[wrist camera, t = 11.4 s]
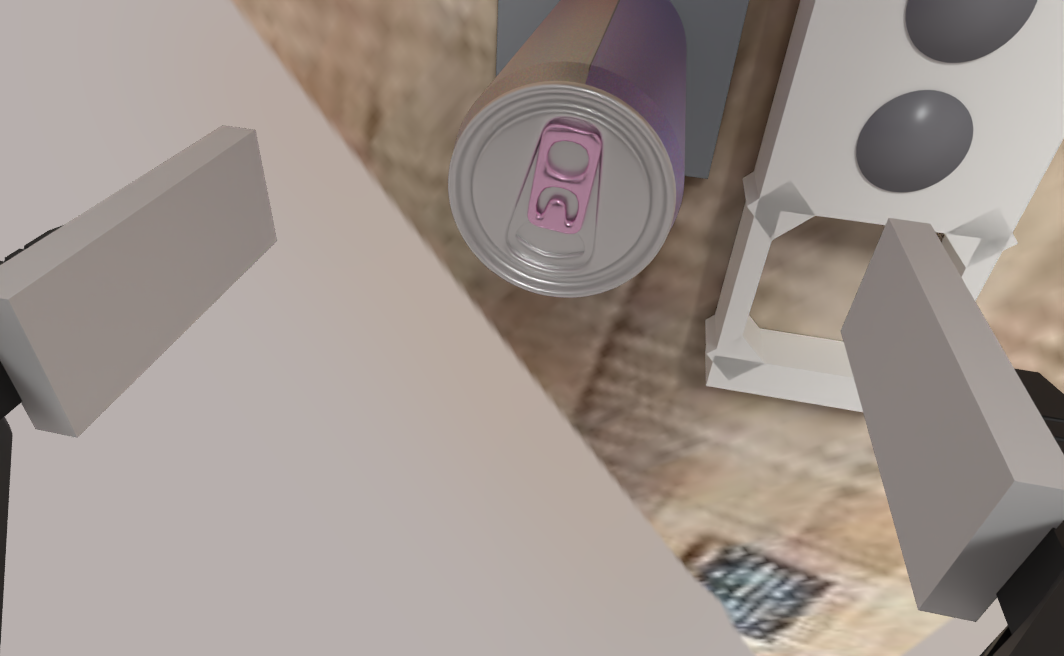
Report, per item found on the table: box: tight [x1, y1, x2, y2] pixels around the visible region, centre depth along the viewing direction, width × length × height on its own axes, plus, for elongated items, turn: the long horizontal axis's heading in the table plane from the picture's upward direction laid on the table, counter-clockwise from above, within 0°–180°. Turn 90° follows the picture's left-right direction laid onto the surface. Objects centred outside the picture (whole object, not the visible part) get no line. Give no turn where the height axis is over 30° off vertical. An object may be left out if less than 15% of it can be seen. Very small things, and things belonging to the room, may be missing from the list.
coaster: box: [496, 0, 749, 179], centre depth 29 cm, size 10×10×1 cm
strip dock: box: [705, 0, 1064, 412], centre depth 26 cm, size 30×11×4 cm, turn 176°
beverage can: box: [448, 0, 687, 298], centre depth 22 cm, size 6×6×15 cm
